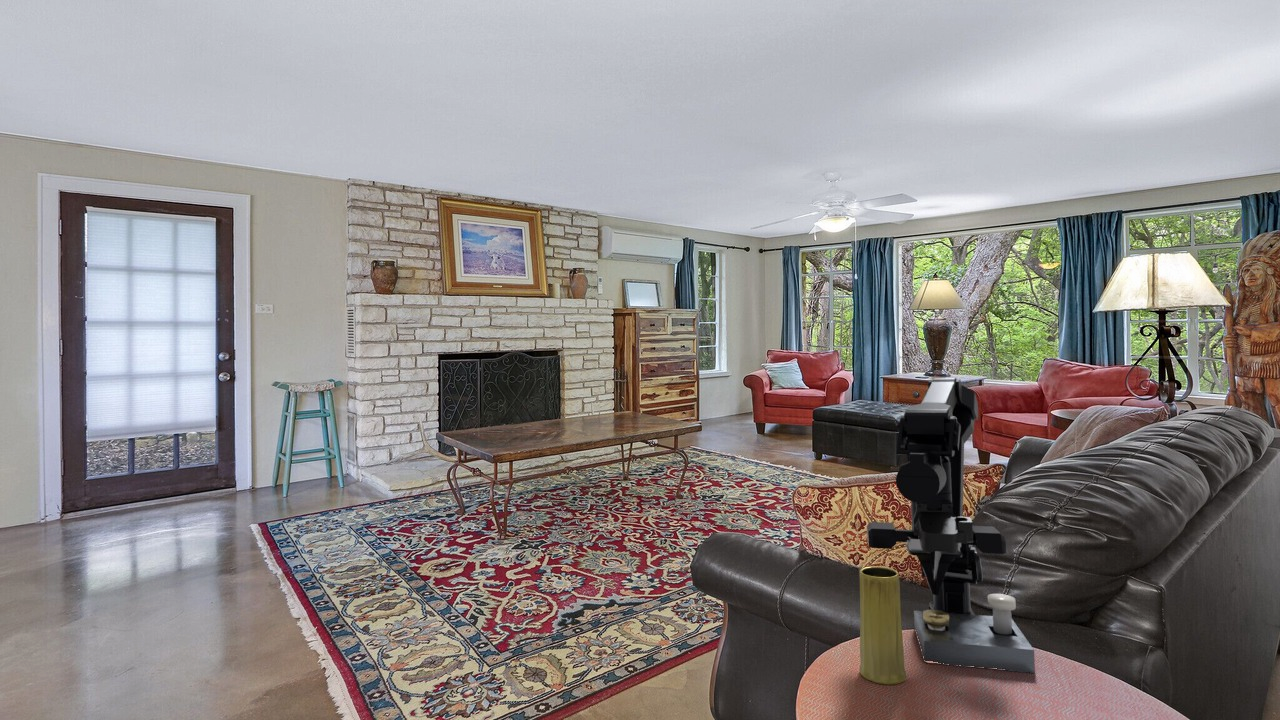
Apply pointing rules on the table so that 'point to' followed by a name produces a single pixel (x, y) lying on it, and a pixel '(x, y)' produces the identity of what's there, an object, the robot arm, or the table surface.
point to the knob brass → (936, 619)
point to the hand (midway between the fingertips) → (934, 594)
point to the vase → (881, 626)
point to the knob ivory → (1002, 612)
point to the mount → (975, 644)
